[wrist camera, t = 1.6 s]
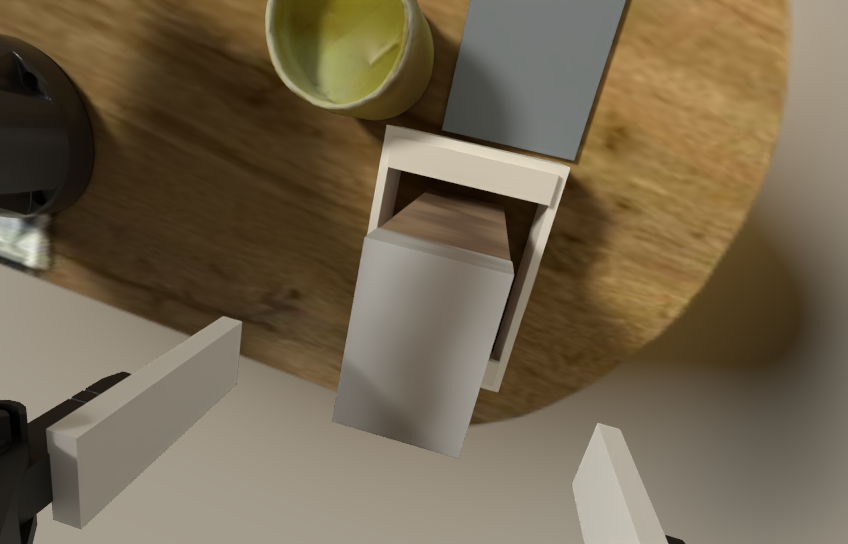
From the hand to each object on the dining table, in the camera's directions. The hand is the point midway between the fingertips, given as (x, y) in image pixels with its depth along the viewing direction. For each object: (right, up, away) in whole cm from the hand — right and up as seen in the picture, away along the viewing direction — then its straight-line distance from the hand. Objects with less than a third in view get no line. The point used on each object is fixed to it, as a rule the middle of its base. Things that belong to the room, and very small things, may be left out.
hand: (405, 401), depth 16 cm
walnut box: (+3, +6, +20) cm, 21 cm away
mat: (+8, +20, +15) cm, 26 cm away
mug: (-3, +22, +16) cm, 28 cm away
